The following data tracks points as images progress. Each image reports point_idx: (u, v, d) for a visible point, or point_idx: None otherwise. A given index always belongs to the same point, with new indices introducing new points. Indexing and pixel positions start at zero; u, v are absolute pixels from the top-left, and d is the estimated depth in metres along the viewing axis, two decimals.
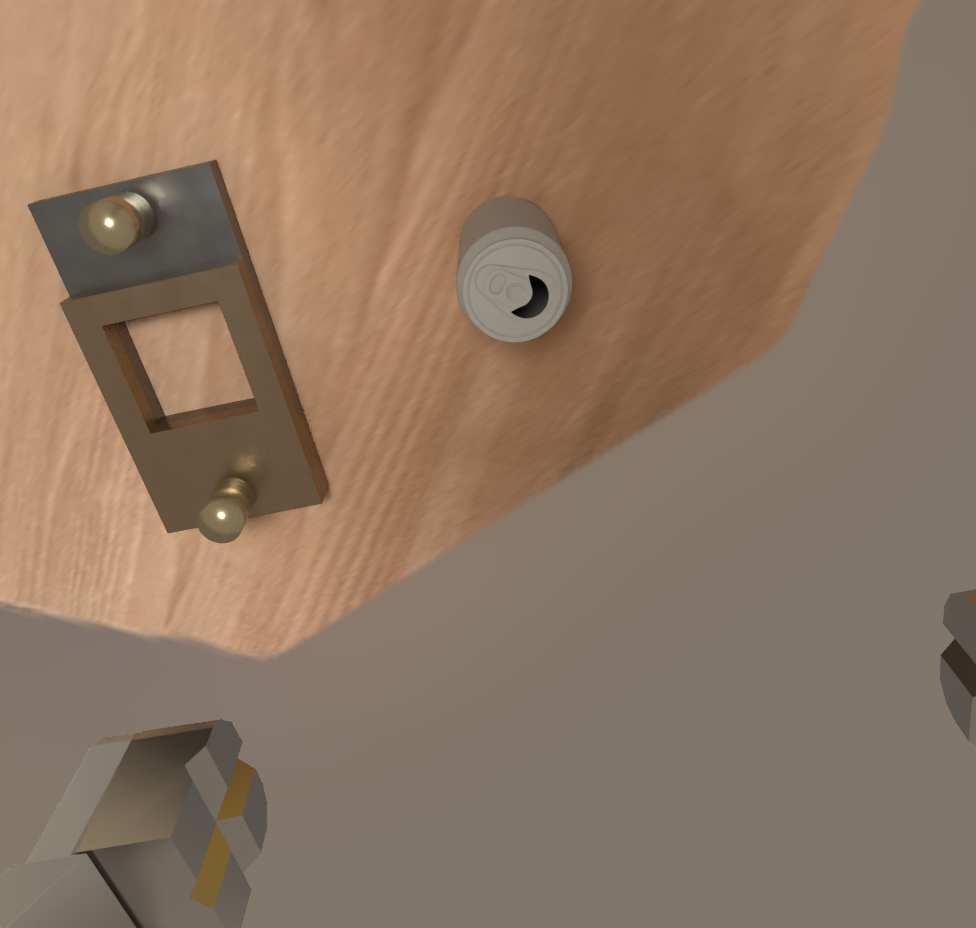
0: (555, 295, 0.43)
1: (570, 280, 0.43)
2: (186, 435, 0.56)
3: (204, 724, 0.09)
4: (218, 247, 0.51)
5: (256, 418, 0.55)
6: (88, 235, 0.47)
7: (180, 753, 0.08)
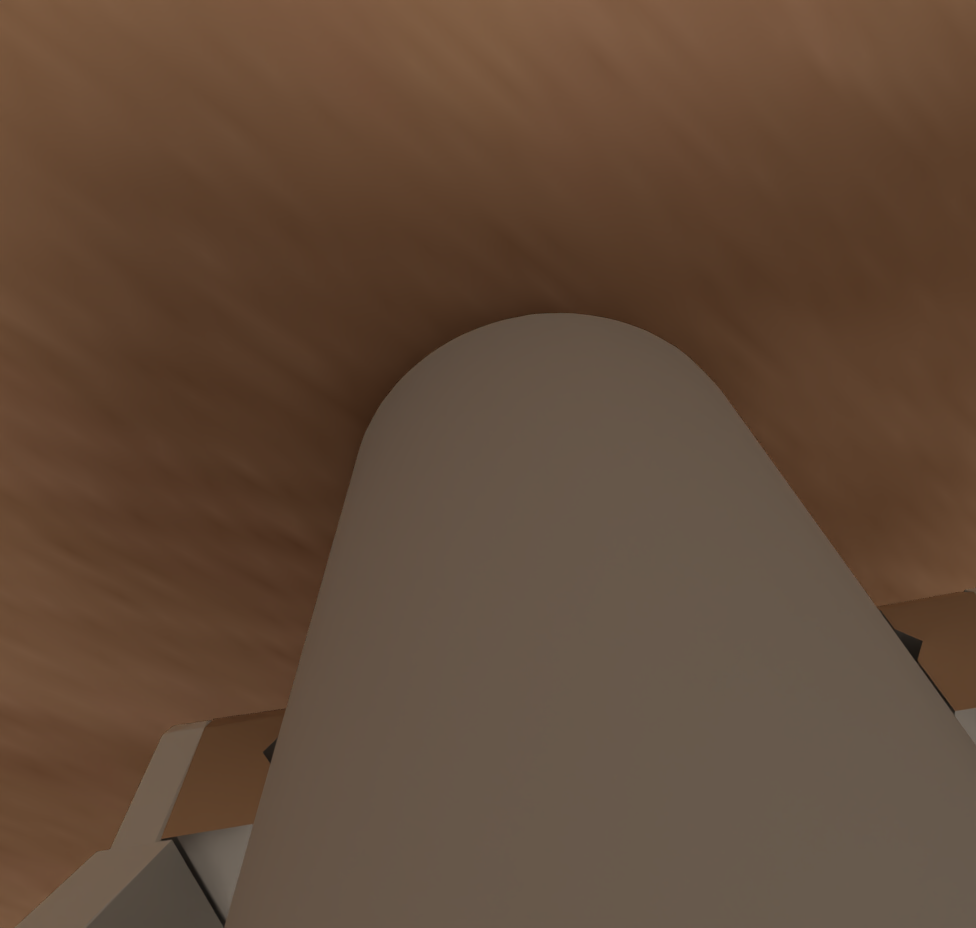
0: None
1: None
2: None
3: (277, 711, 0.09)
4: None
5: None
6: None
7: (257, 740, 0.08)
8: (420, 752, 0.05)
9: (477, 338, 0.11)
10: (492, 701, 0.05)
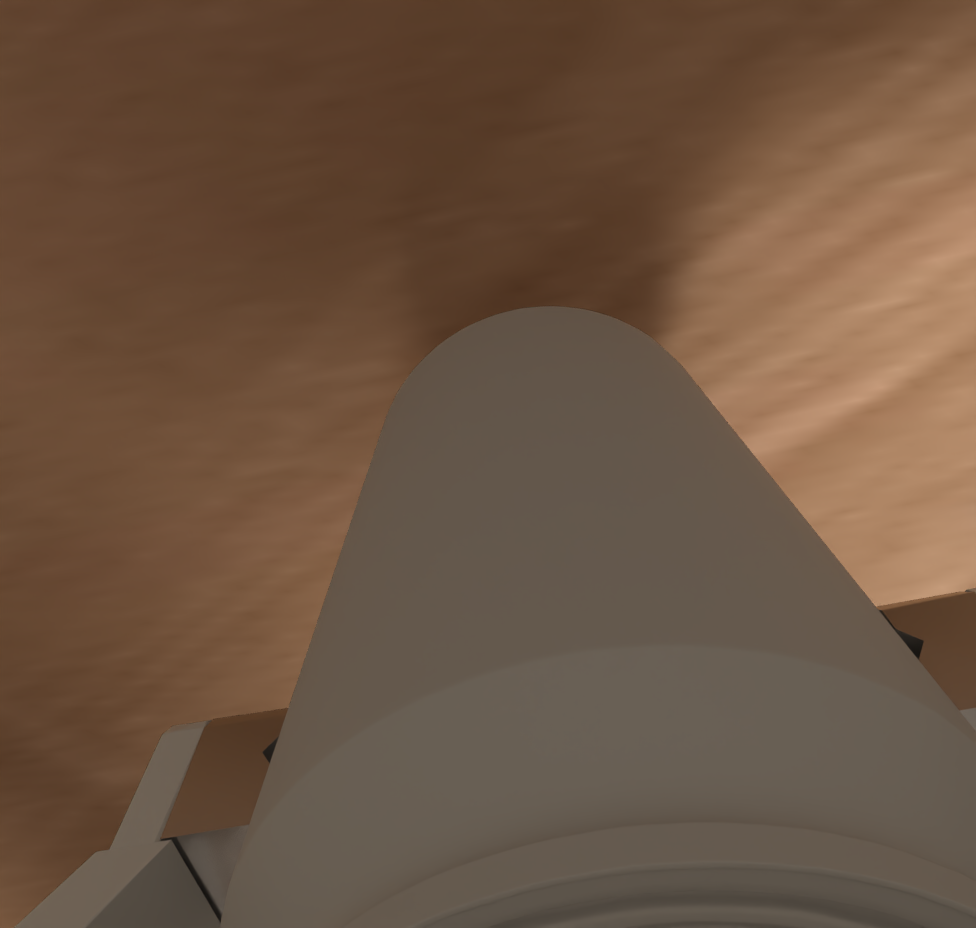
0: None
1: (502, 708, 0.05)
2: None
3: (277, 712, 0.09)
4: None
5: None
6: None
7: (256, 740, 0.08)
8: (425, 541, 0.07)
9: (475, 328, 0.14)
10: (474, 509, 0.07)
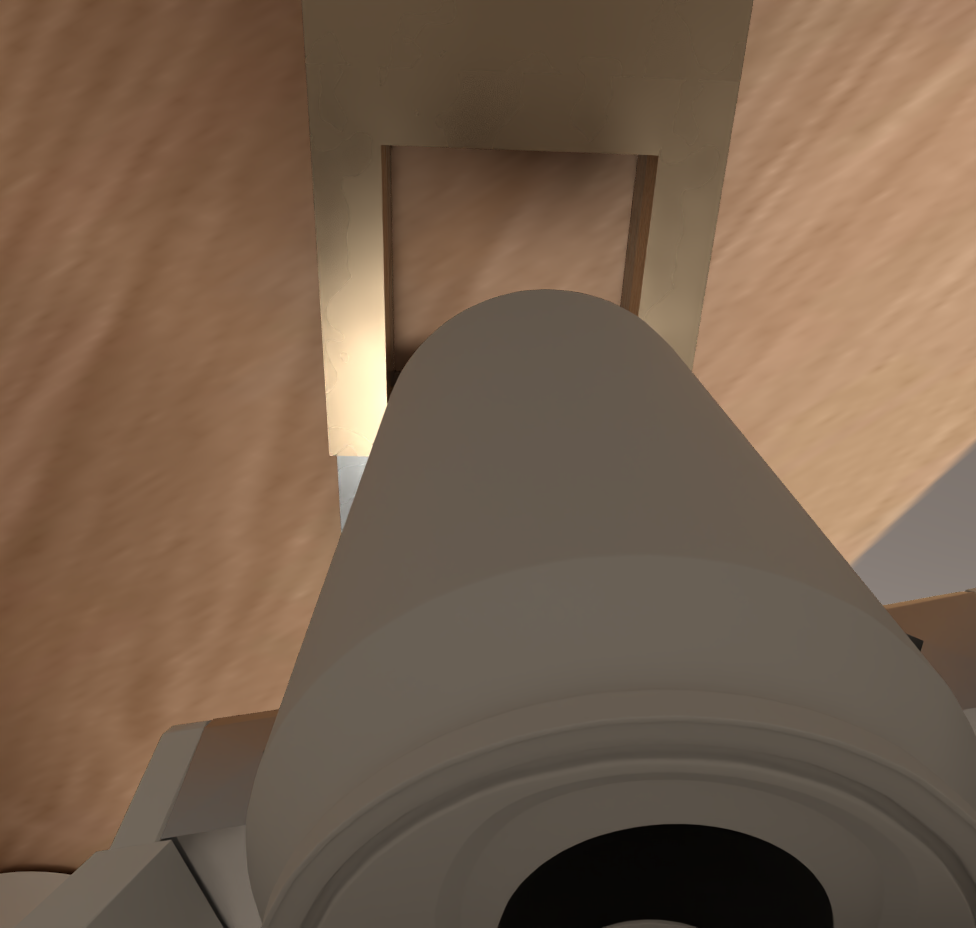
0: (612, 789, 0.05)
1: (495, 607, 0.06)
2: (578, 127, 0.23)
3: (277, 711, 0.09)
4: None
5: (394, 127, 0.23)
6: None
7: (256, 740, 0.08)
8: (429, 486, 0.08)
9: (476, 309, 0.14)
10: (473, 458, 0.08)
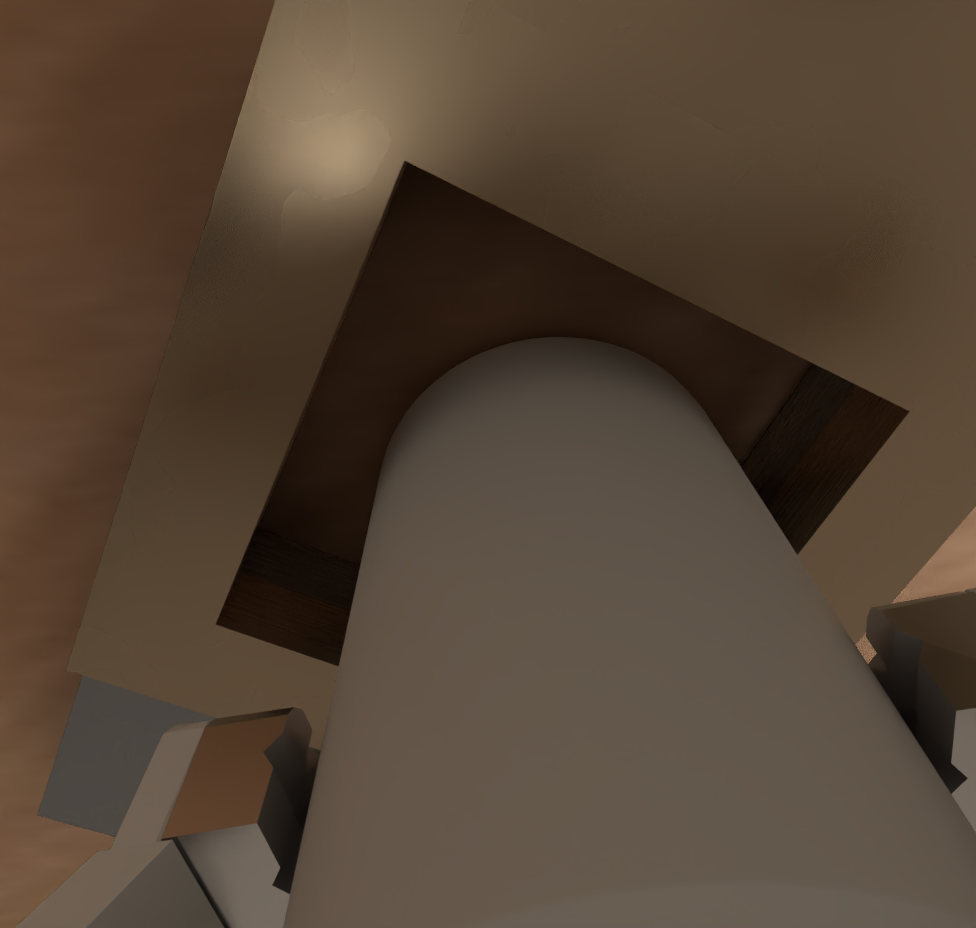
0: None
1: None
2: (803, 302, 0.11)
3: (277, 711, 0.09)
4: None
5: (448, 139, 0.10)
6: None
7: (257, 740, 0.08)
8: (468, 673, 0.07)
9: (492, 358, 0.13)
10: (518, 637, 0.07)
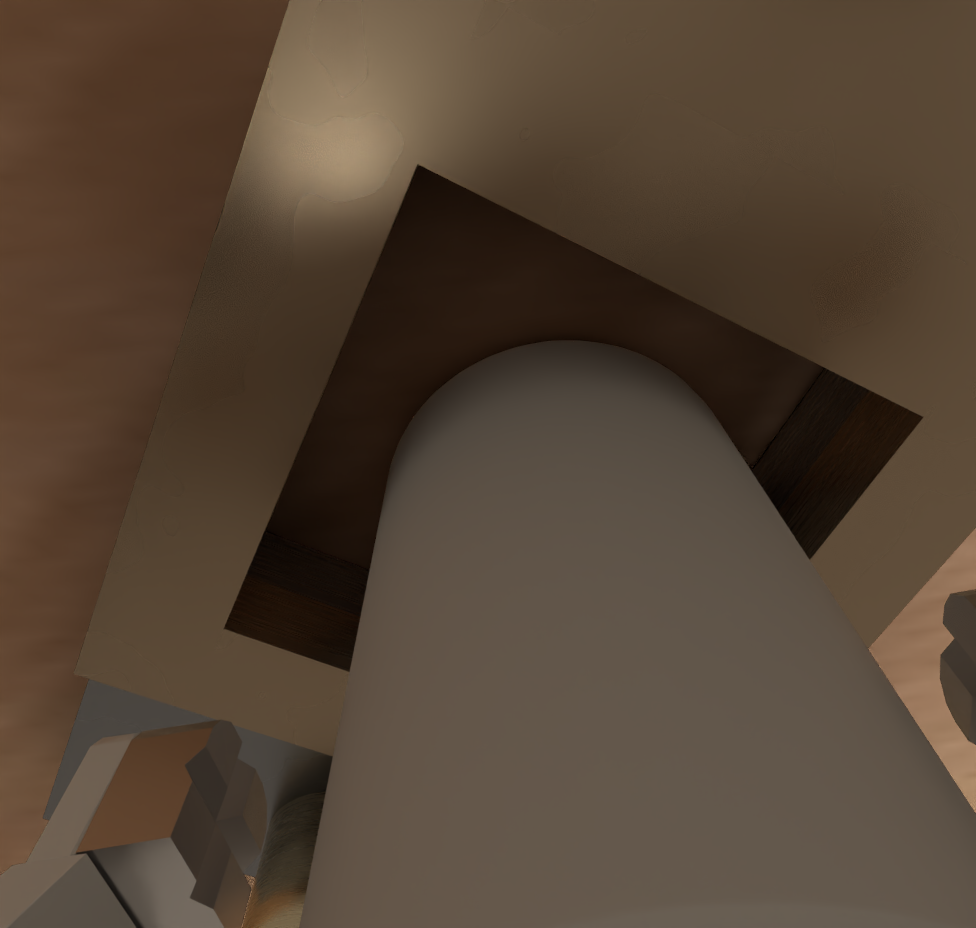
0: None
1: None
2: (817, 307, 0.11)
3: (204, 724, 0.09)
4: None
5: (461, 142, 0.10)
6: None
7: (180, 753, 0.08)
8: (483, 684, 0.07)
9: (501, 361, 0.13)
10: (535, 649, 0.07)
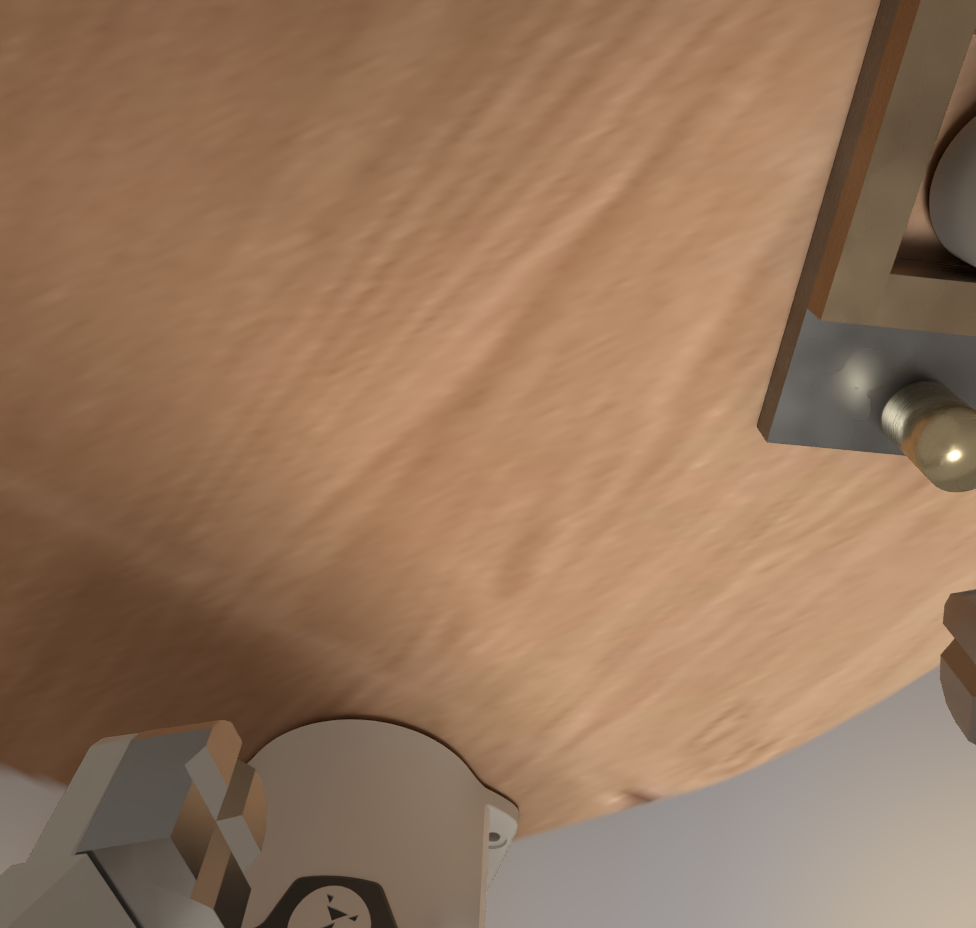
0: None
1: None
2: None
3: (204, 724, 0.09)
4: (831, 335, 0.32)
5: None
6: None
7: (180, 753, 0.08)
8: None
9: None
10: None
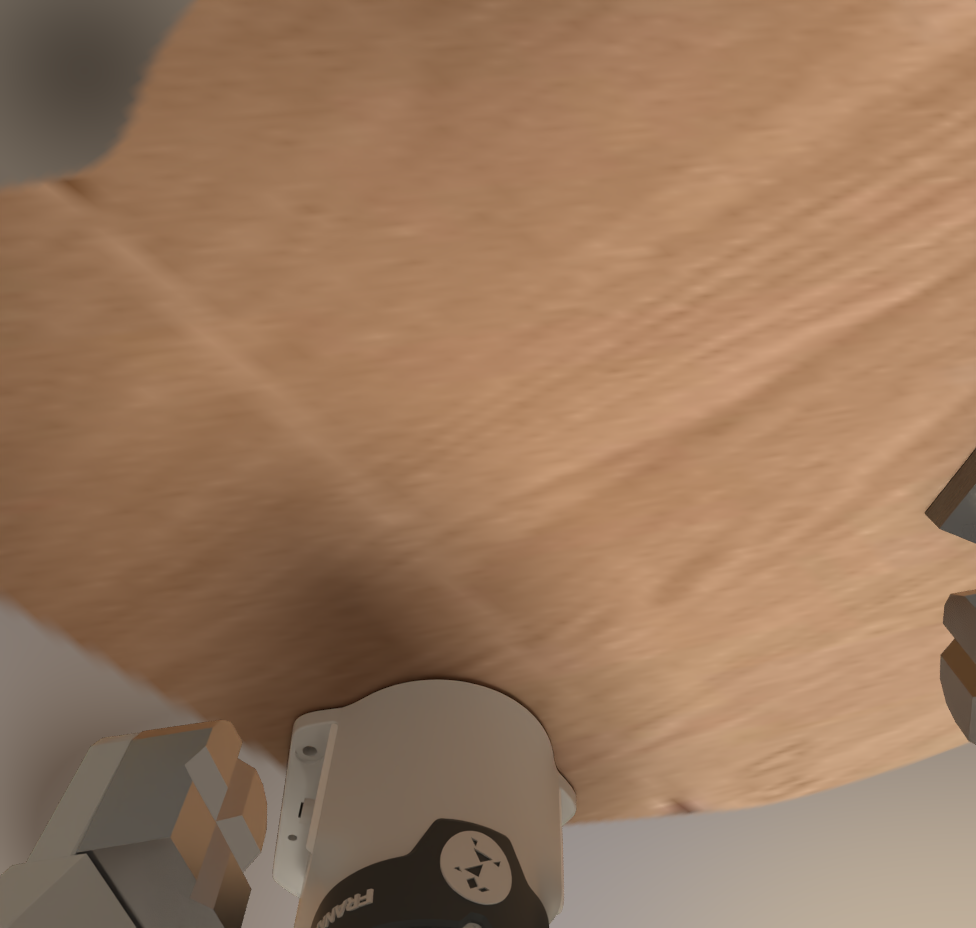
0: None
1: None
2: None
3: (204, 724, 0.09)
4: None
5: None
6: None
7: (180, 753, 0.08)
8: None
9: None
10: None
